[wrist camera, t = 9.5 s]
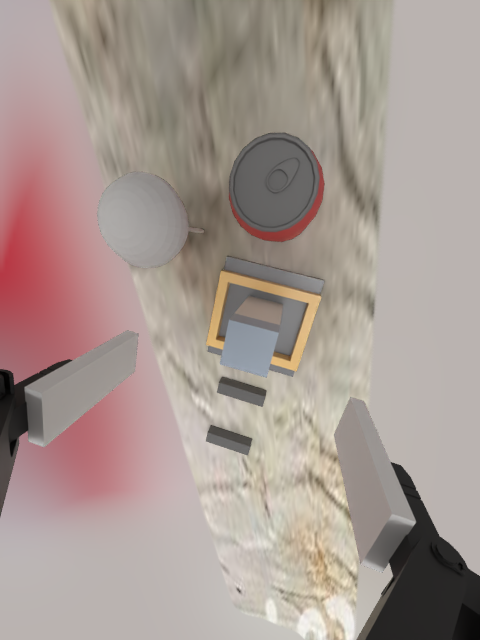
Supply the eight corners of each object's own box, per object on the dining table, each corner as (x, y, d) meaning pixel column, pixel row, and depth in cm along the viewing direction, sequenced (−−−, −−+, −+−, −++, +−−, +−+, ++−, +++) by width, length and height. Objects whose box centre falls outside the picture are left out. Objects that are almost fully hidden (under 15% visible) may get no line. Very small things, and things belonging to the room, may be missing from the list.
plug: (248, 295, 30) (229, 319, 20) (282, 304, 29) (278, 332, 20) (241, 327, 31) (219, 364, 22) (274, 336, 31) (266, 377, 21)
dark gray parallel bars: (222, 376, 34) (219, 382, 33) (266, 390, 33) (265, 396, 32) (209, 433, 37) (205, 441, 36) (249, 447, 36) (247, 455, 35)
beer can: (326, 210, 26) (352, 185, 15) (276, 254, 29) (266, 261, 17) (285, 158, 26) (279, 92, 15) (237, 207, 28) (200, 183, 17)
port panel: (228, 256, 30) (223, 256, 28) (323, 280, 28) (326, 282, 26) (208, 349, 33) (203, 355, 31) (292, 374, 32) (292, 382, 30)
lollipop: (223, 263, 30) (162, 279, 16) (175, 254, 31) (76, 263, 17) (231, 205, 28) (169, 165, 14) (180, 197, 29) (72, 153, 15)
